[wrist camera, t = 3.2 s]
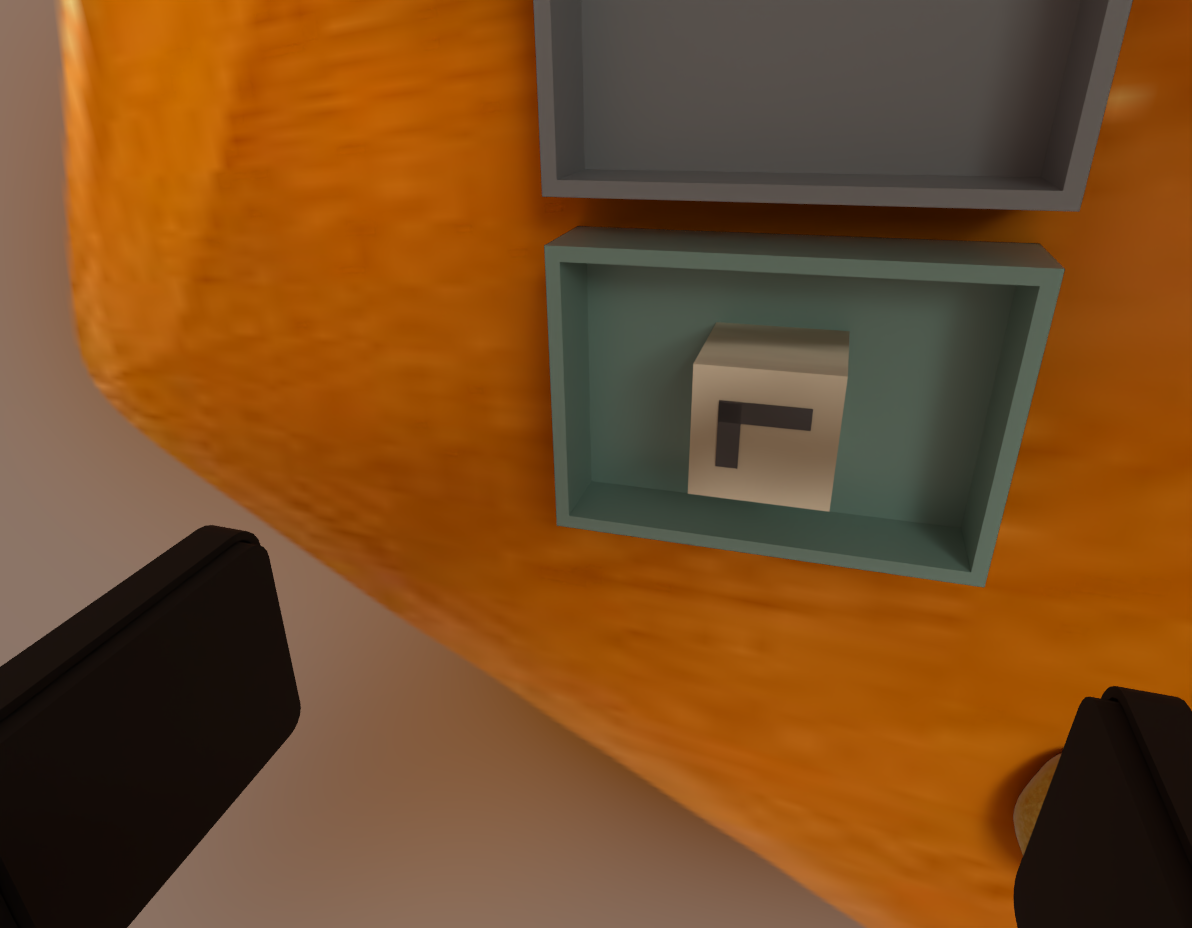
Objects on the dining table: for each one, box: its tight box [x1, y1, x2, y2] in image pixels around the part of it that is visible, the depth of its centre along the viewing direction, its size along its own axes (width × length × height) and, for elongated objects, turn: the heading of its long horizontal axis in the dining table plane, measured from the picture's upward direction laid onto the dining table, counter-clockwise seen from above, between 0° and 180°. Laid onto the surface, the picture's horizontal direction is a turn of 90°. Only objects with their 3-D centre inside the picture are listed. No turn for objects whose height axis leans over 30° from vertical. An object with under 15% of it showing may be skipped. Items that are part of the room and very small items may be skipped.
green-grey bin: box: [544, 226, 1065, 587], centre depth 27 cm, size 10×15×4 cm
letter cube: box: [688, 322, 850, 512], centre depth 26 cm, size 4×5×4 cm
